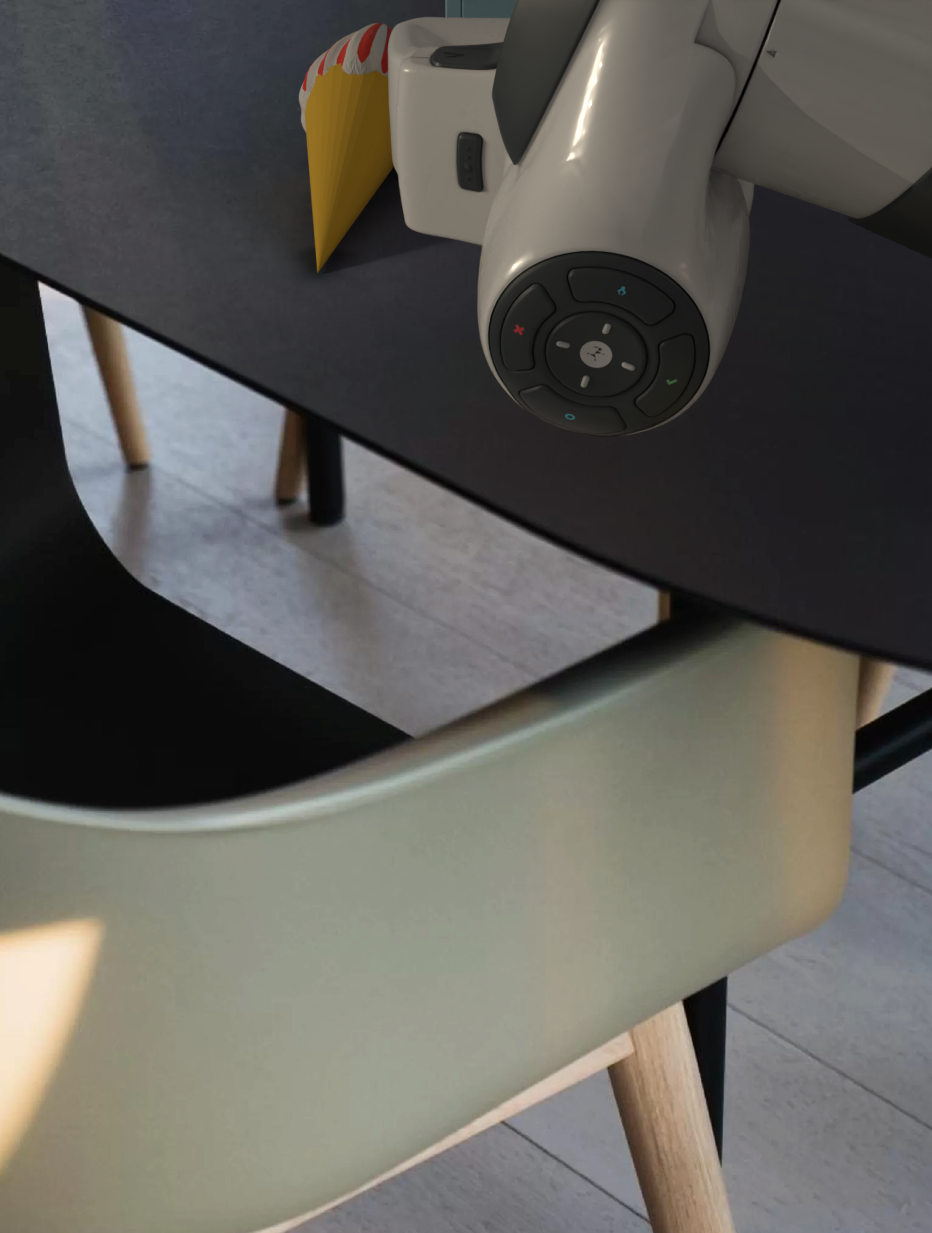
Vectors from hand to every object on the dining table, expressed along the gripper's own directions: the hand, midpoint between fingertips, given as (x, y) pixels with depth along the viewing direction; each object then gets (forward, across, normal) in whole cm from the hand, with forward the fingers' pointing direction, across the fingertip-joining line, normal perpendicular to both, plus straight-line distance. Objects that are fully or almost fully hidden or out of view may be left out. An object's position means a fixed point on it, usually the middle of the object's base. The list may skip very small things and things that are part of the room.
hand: (658, 19), depth 90 cm
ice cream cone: (+12, +16, +13) cm, 23 cm away
